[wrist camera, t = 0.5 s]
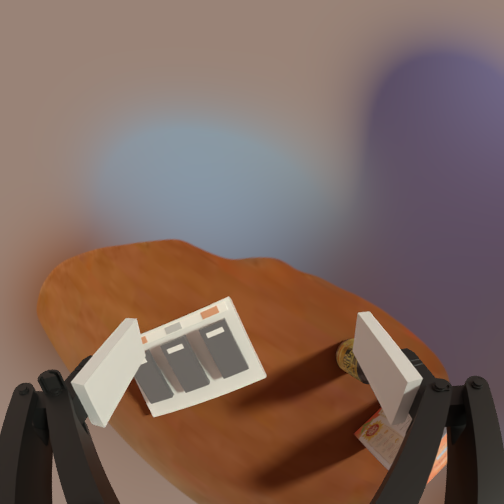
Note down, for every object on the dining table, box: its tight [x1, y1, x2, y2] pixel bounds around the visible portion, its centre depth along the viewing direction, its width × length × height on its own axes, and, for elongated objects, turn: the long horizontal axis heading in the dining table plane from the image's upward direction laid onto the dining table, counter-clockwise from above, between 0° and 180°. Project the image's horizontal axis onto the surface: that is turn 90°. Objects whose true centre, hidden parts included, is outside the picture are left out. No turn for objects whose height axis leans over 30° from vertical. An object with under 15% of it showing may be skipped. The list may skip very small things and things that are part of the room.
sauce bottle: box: [336, 339, 369, 384], centre depth 36 cm, size 7×6×20 cm
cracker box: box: [354, 407, 447, 483], centre depth 32 cm, size 14×6×21 cm, turn 132°
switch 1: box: [134, 349, 174, 404], centre depth 40 cm, size 9×4×2 cm, turn 25°
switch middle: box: [160, 335, 210, 393], centre depth 41 cm, size 9×4×2 cm, turn 25°
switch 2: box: [199, 318, 249, 379], centre depth 41 cm, size 9×4×2 cm, turn 25°
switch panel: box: [134, 297, 266, 417], centre depth 44 cm, size 15×22×4 cm
